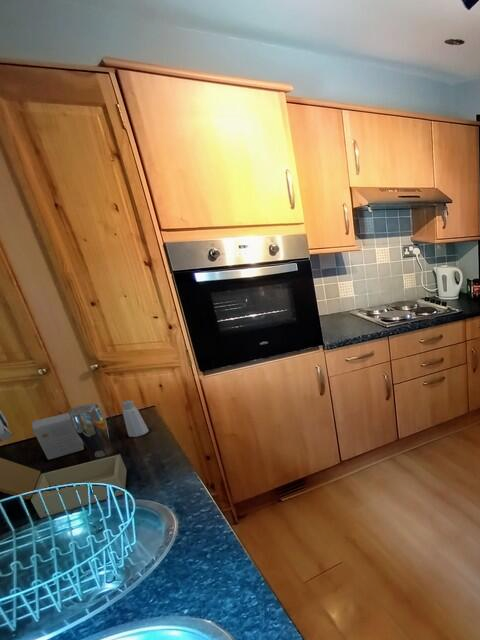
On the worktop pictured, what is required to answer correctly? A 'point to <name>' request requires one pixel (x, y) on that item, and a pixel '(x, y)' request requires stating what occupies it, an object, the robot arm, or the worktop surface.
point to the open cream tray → (93, 472)
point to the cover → (17, 478)
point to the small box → (57, 436)
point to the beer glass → (92, 430)
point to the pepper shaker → (133, 420)
